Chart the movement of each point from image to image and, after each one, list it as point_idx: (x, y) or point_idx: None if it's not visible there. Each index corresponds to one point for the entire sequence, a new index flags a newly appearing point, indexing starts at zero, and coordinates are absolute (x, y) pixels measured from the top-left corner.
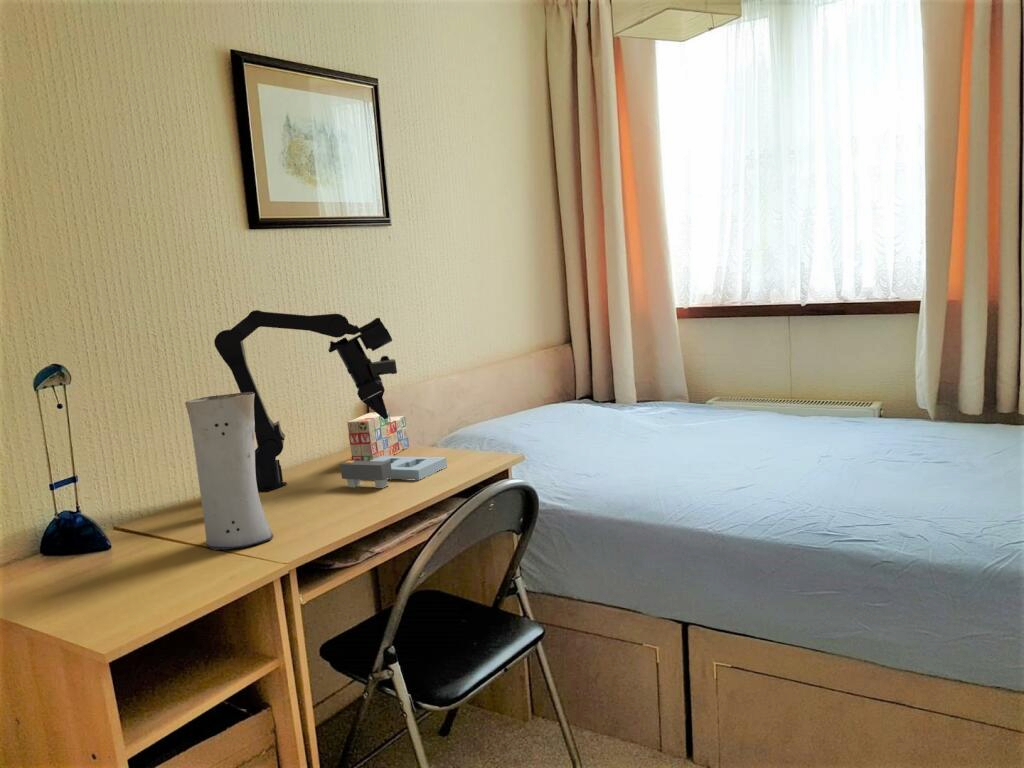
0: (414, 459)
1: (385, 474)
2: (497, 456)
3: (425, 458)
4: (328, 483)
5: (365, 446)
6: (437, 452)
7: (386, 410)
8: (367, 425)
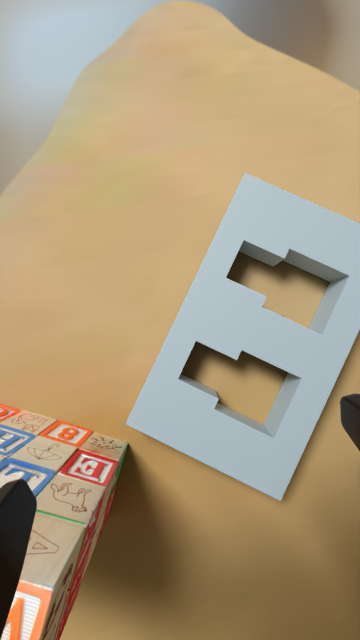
0: (231, 283)
1: None
2: (147, 54)
3: (230, 245)
4: (314, 546)
5: (101, 507)
6: (11, 255)
7: (18, 481)
8: (65, 571)
